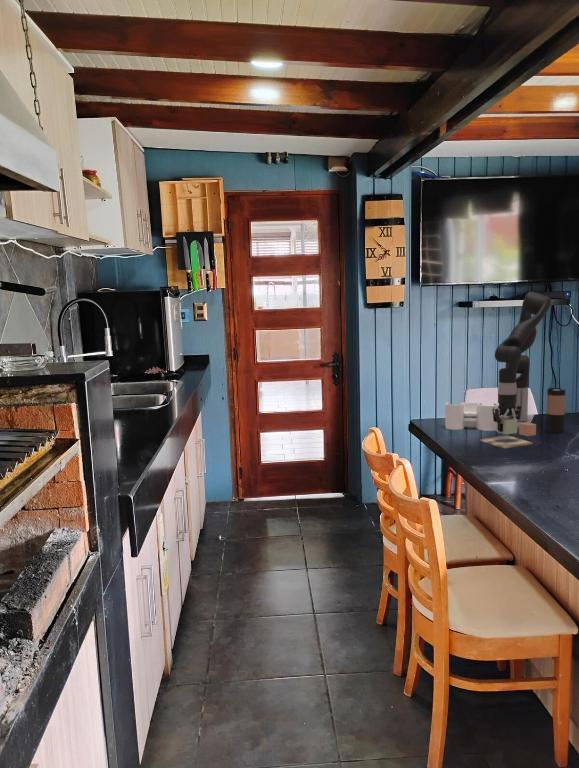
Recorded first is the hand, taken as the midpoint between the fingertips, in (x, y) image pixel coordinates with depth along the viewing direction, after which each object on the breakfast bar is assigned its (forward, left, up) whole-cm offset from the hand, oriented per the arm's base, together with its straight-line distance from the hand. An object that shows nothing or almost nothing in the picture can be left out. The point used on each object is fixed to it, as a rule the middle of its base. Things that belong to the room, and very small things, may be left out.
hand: (506, 430), depth 246 cm
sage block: (0, 0, -1) cm, 1 cm away
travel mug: (-5, +33, -5) cm, 34 cm away
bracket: (-30, +6, -6) cm, 31 cm away
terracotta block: (-7, +19, -5) cm, 21 cm away
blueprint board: (0, 0, -5) cm, 5 cm away
